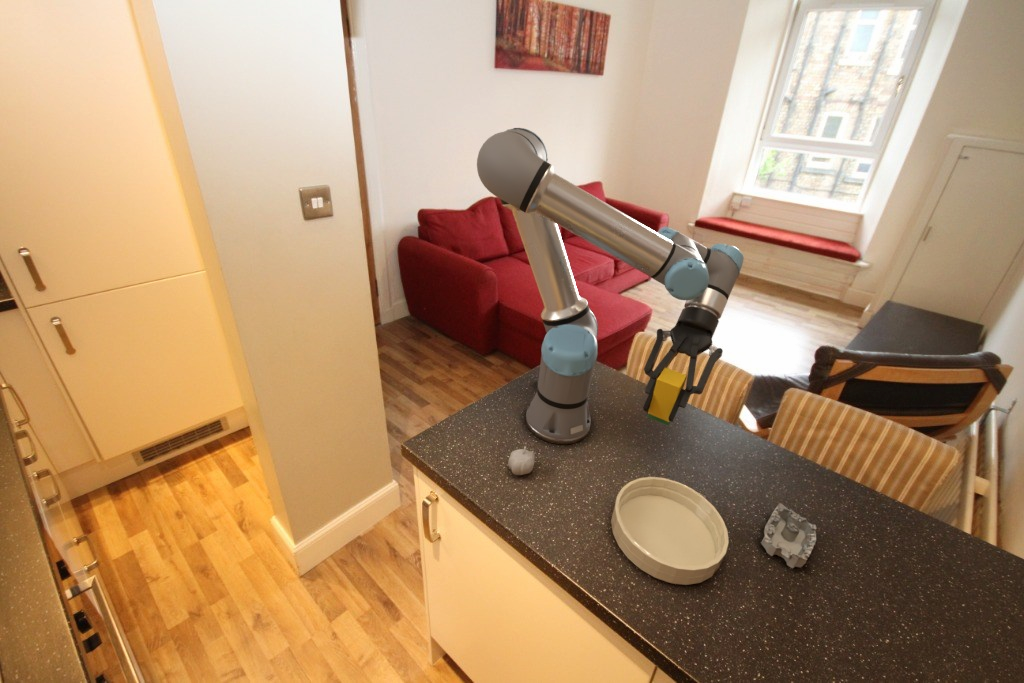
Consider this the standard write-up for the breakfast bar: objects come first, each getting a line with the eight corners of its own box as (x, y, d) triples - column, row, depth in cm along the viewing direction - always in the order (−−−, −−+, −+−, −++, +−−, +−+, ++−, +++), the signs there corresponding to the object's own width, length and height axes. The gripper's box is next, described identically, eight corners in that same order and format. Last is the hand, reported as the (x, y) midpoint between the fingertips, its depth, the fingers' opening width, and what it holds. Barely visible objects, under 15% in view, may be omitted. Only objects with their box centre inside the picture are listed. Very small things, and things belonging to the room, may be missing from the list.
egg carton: (799, 575, 76) (809, 560, 74) (754, 546, 80) (762, 531, 78) (815, 537, 83) (824, 523, 81) (772, 513, 87) (780, 498, 85)
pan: (590, 511, 84) (594, 494, 82) (666, 481, 92) (671, 466, 90) (661, 605, 69) (668, 588, 67) (744, 560, 77) (753, 544, 75)
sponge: (655, 404, 97) (665, 367, 91) (675, 412, 95) (687, 375, 89) (647, 417, 93) (656, 379, 88) (668, 426, 91) (679, 387, 86)
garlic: (521, 455, 95) (523, 437, 93) (540, 469, 92) (542, 450, 90) (501, 469, 91) (502, 450, 89) (520, 484, 88) (522, 465, 86)
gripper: (743, 333, 92) (701, 436, 88) (661, 308, 100) (619, 402, 96) (747, 319, 86) (702, 430, 82) (659, 294, 94) (614, 393, 90)
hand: (657, 414), depth 89 cm, fingers closed on sponge, 4 cm apart
